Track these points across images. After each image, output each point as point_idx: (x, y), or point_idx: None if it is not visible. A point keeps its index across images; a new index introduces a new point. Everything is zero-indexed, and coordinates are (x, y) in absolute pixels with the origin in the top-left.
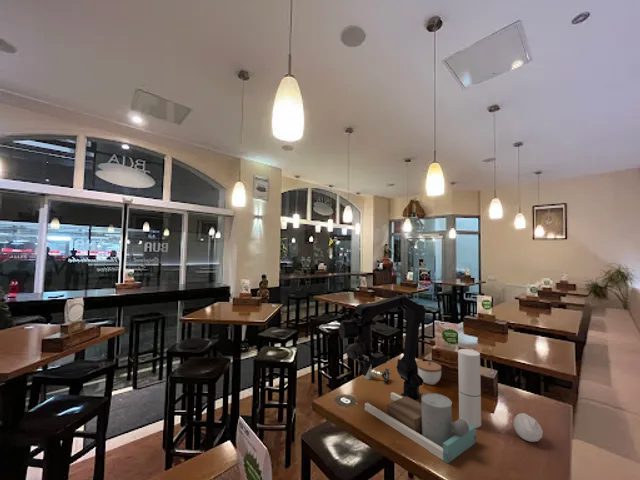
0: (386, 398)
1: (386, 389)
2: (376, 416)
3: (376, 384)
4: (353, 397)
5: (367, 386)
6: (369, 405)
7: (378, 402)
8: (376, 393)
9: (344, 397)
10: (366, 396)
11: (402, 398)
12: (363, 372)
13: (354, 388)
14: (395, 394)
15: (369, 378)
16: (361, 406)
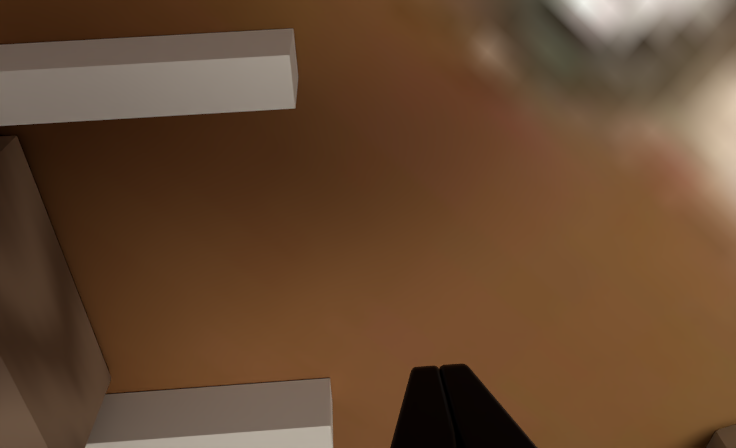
0: (362, 360)
1: None
2: (77, 45)
3: (603, 431)
4: (606, 107)
5: (643, 358)
6: (218, 82)
7: (347, 263)
8: (489, 346)
9: (695, 6)
10: (515, 240)
11: (27, 437)
12: (435, 427)
13: (727, 240)
14: (284, 441)
15: (716, 445)
16: (389, 55)
